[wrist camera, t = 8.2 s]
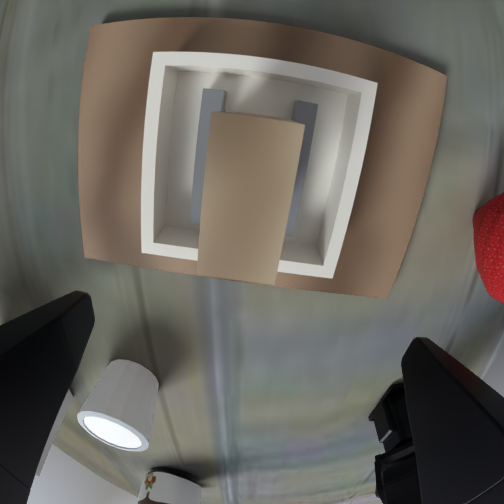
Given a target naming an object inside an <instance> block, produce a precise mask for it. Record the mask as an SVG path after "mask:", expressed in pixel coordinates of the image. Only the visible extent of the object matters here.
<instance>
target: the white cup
mask: <svg viewBox="0 0 504 504" xmlns="http://www.w3.org/2000/svg"><path fill="white" fill-rule="evenodd" d="M158 387H159V383H158V381H157V378H156V377H155V376H154V375H153V374H152V372H151V371H150V370H148V369H147V368H145V367H143V366H142V365H140V364H138V363H135V362H133V361H130V360H123V359H118V360H114V361H111V362H110V363H109V365H108V366H107V367H106V369H105V370H104V372H103V374H102V375H101V377H100V378H99V380H98V382H97V383H96V385H95V386H94V388H93V390H92V391H91V393H90V395H89V396H88V398H87V399H86V401H85V403H84V404H83V406H82V408H81V409H80V411H79V413H78V414H77V418H78V422H79V423H80V424H81V426H82V427H83V428H84V429H85V430H86V431H87V432H89V433H90V434H91V435H92V436H94V437H95V438H97V439H99V440H101V441H102V442H104V443H106V444H108V445H111V446H114V447H116V448H119V449H123V450H128V451H143V450H146V449H148V445H149V440H150V434H151V427H152V421H153V415H154V410H155V404H156V398H157V393H158Z"/></svg>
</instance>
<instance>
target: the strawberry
mask: <svg viewBox="0 0 504 504" xmlns="http://www.w3.org/2000/svg"><path fill="white" fill-rule="evenodd" d="M473 228H474V248H475V258H476V265H477V269H478V272H479V274H480V277H481V279H482V281H483V283H484V285H485V288H486V290H487V292H488V293H489V295H490V296H492V297H493V298H495V299H497V300H498V301H500V302H502V303H504V193H502V194H500V195H498V196H496V197H495V198H493V199H491V200H489V201H488V202H487V203H486V204H485V205H484V206H483V207H482V208H479V209H478V210H477V211H476V212H475V214H474V216H473Z"/></svg>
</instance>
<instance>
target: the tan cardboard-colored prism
mask: <svg viewBox="0 0 504 504" xmlns="http://www.w3.org/2000/svg"><path fill="white" fill-rule="evenodd" d="M304 129H305V125H304V124H301V123H297V122H294V121H291V120H287V119H284V118H278V117H272V116H265V115H258V114H251V113H243V112H212V113H211V120H210V129H209V137H208V146H207V155H206V164H205V174H204V184H203V195H202V207H201V219H200V232H199V246H198V261H197V275H204V276H211V277H218V278H225V279H232V280H240V281H247V282H255V283H262V284H270V285H274V284H275V280H276V275H277V270H278V265H279V260H280V256H281V251H282V246H283V241H284V236H285V231H286V226H287V221H288V216H289V210H290V205H291V200H292V195H293V189H294V184H295V179H296V173H297V168H298V162H299V157H300V151H301V146H302V140H303V134H304Z"/></svg>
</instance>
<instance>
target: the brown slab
mask: <svg viewBox="0 0 504 504" xmlns="http://www.w3.org/2000/svg"><path fill="white" fill-rule="evenodd" d="M153 52H208V53H224V54H236V55H246V56H254V57H262V58H270V59H276V60H283V61H289V62H294V63H300V64H305V65H310V66H315V67H319V68H324V69H328V70H332V71H336V72H340V73H344V74H348V75H352V76H355V77H359V78H362V79H366V80H369V81H372V82H376V83H378V84H377V90H376V96H375V103H374V108H373V114H372V120H371V125H370V130H369V135H368V140H367V145H366V150H365V155H364V160H363V164H362V169H361V173H360V178H359V182H358V186H357V190H356V195H355V199H354V203H353V207H352V211H351V215H350V218H349V222H348V226H347V230H346V233H345V237H344V241H343V244H342V248H341V251H340V255H339V258H338V262H337V265H336V268H335V272H334V275H333V278H332V279H331V278H323V277H315V276H307V275H299V274H292V273H284V272H277V275H276V280H275V284H274V285H270V284H262V283H255V282H247V281H240V280H232V279H225V278H218V277H211V276H204V275H197V261H195V260H188V259H181V258H174V257H167V256H160V255H154V254H147V253H142V250H141V179H142V155H143V138H144V125H145V114H146V103H147V94H148V86H149V78H150V70H151V63H152V56H153ZM446 83H447V76H446V75H444V74H442V73H440V72H438V71H436V70H434V69H431V68H429V67H427V66H425V65H422V64H420V63H418V62H415V61H413V60H410V59H408V58H405V57H403V56H400V55H397V54H395V53H392V52H389V51H386V50H384V49H381V48H378V47H375V46H372V45H368V44H365V43H362V42H359V41H355V40H352V39H348V38H344V37H341V36H337V35H333V34H329V33H325V32H320V31H316V30H311V29H306V28H301V27H296V26H290V25H284V24H277V23H270V22H263V21H254V20H244V19H232V18H214V17H167V18H149V19H137V20H128V21H119V22H112V23H105V24H99V25H93V26H91V28H90V33H89V38H88V44H87V50H86V56H85V63H84V71H83V79H82V89H81V100H80V114H79V135H78V180H79V202H80V217H81V228H82V238H83V247H84V255H85V258H90V259H96V260H102V261H108V262H114V263H119V264H126V265H132V266H138V267H144V268H150V269H157V270H163V271H170V272H176V273H183V274H190V275H197V276H203V277H211V278H218V279H225V280H232V281H239V282H247V283H255V284H262V285H270V286H278V287H286V288H294V289H303V290H311V291H320V292H329V293H338V294H347V295H357V296H367V297H377V298H387V299H388V296H389V294H390V291H391V289H392V287H393V284H394V282H395V279H396V276H397V274H398V271H399V269H400V266H401V263H402V261H403V258H404V255H405V252H406V250H407V247H408V244H409V241H410V238H411V235H412V232H413V229H414V226H415V223H416V220H417V216H418V213H419V210H420V206H421V203H422V199H423V196H424V192H425V189H426V185H427V181H428V177H429V173H430V169H431V165H432V161H433V157H434V152H435V148H436V143H437V138H438V133H439V128H440V123H441V117H442V111H443V105H444V98H445V91H446Z"/></svg>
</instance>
